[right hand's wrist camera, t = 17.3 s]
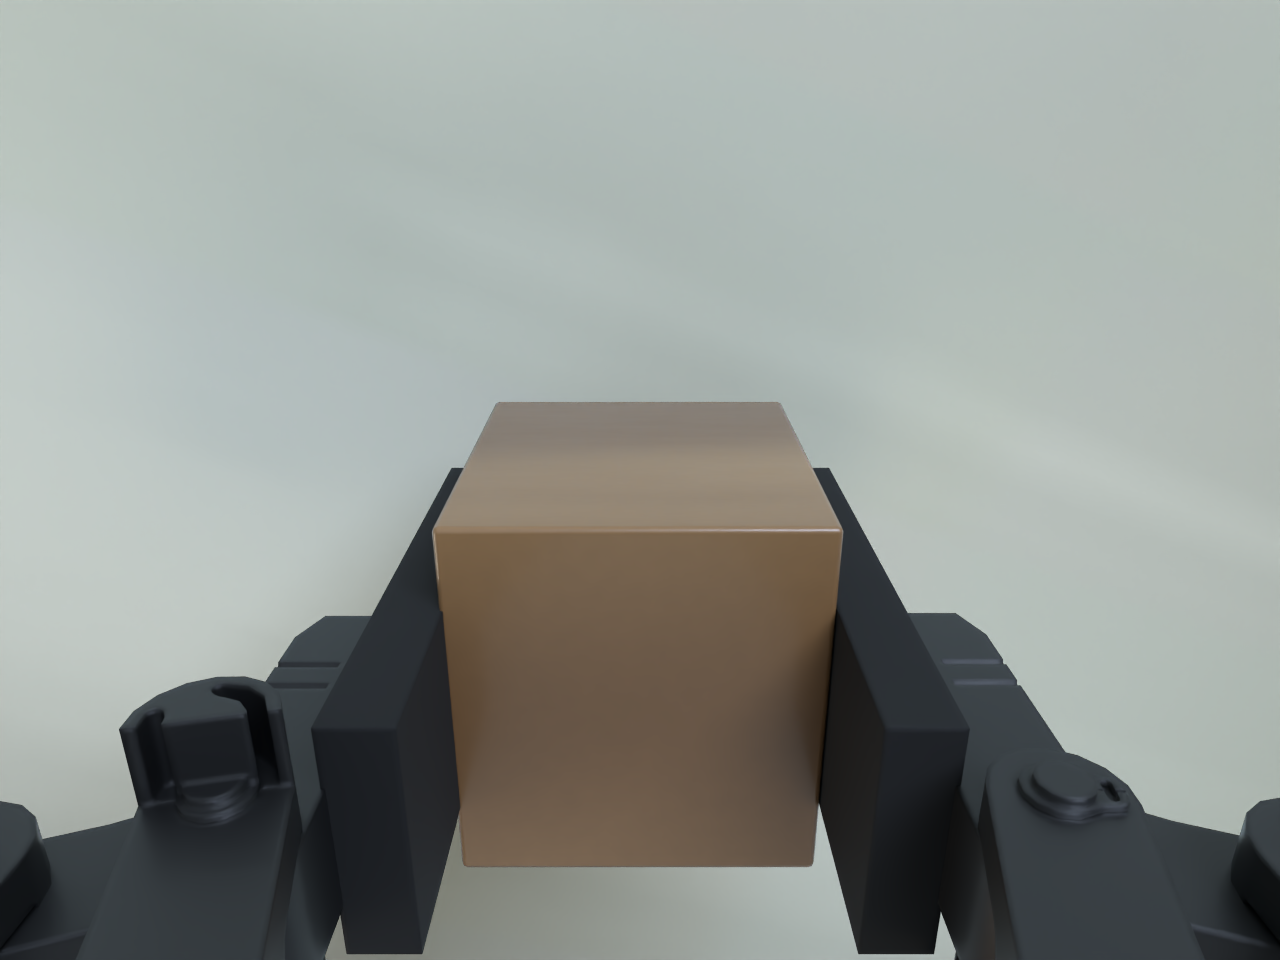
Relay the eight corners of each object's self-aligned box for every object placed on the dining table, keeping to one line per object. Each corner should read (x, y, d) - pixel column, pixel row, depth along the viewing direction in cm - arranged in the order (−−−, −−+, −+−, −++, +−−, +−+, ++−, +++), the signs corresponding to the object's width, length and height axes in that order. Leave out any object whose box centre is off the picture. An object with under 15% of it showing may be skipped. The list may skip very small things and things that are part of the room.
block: (495, 400, 14) (430, 528, 10) (781, 401, 14) (845, 528, 10) (511, 661, 16) (462, 869, 11) (765, 661, 16) (813, 869, 11)
